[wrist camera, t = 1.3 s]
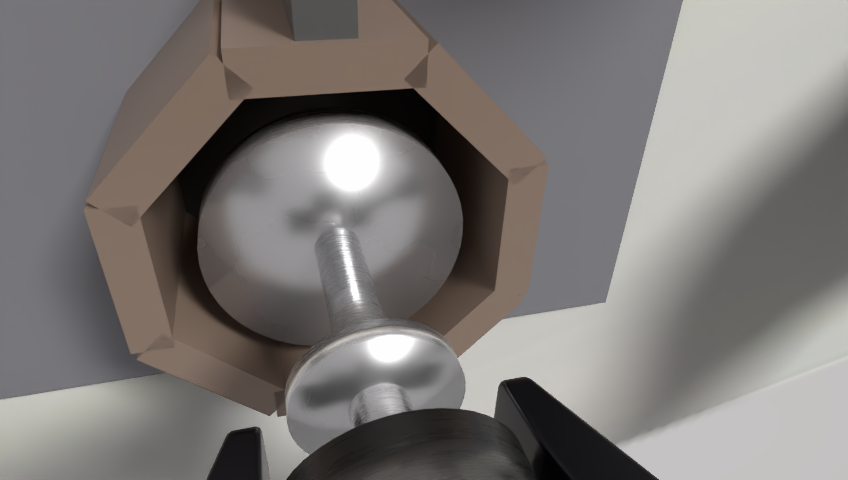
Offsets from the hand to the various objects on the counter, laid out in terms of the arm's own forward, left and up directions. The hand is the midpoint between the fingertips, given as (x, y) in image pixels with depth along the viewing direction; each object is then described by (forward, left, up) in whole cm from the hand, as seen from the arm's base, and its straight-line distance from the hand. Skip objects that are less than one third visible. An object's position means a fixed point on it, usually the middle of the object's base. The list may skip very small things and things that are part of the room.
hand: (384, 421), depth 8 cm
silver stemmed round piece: (0, 0, -5) cm, 5 cm away
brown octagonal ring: (0, -1, -9) cm, 9 cm away
